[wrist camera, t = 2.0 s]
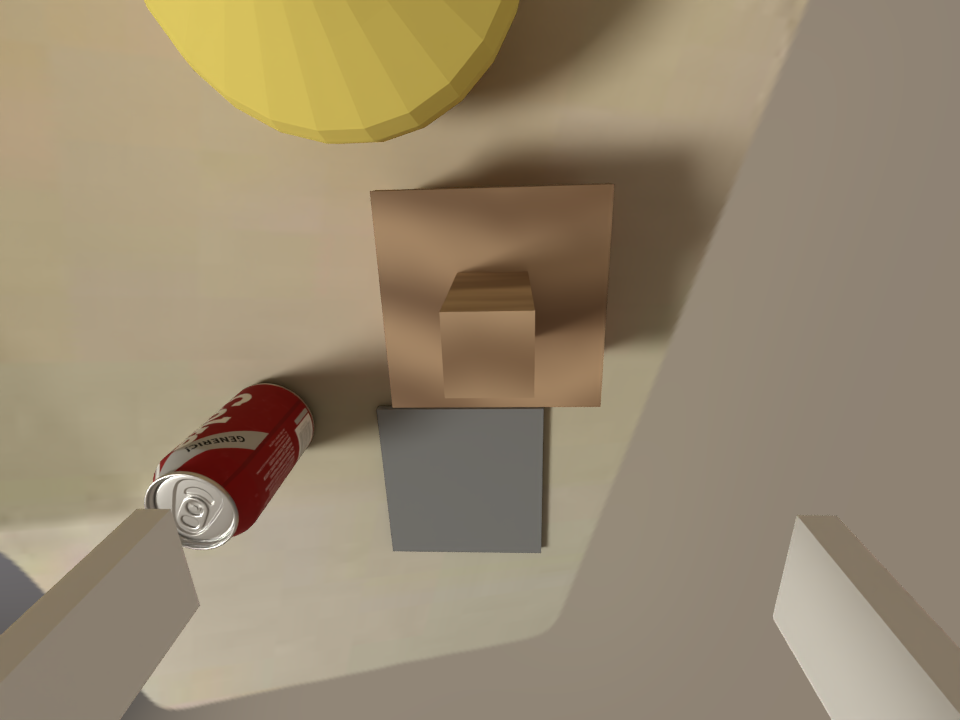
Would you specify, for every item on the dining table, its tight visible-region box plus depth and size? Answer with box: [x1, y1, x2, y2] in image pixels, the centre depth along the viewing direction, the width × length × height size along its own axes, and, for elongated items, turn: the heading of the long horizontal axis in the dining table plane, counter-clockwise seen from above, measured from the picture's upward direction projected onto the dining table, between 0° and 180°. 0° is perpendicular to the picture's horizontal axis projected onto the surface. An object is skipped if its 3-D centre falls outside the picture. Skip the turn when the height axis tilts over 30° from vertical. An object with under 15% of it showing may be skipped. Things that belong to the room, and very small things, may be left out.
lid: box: [370, 183, 614, 408], centre depth 26 cm, size 13×13×9 cm
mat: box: [377, 406, 544, 553], centre depth 42 cm, size 14×13×1 cm
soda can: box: [144, 383, 314, 550], centre depth 35 cm, size 7×7×12 cm
